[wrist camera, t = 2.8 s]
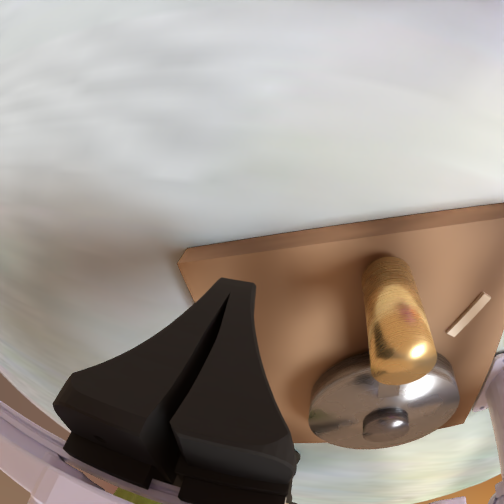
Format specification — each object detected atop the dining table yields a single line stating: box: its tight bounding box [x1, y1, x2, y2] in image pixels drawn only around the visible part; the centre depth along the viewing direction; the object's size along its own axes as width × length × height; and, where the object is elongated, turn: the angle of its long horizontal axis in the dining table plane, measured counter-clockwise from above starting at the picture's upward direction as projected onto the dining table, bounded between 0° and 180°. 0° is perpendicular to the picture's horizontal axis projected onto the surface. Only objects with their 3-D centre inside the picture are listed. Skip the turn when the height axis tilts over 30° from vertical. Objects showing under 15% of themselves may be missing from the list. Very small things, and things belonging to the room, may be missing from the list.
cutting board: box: [177, 203, 504, 443], centre depth 19 cm, size 18×20×2 cm
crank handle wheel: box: [308, 256, 460, 449], centre depth 15 cm, size 16×10×5 cm, turn 16°
